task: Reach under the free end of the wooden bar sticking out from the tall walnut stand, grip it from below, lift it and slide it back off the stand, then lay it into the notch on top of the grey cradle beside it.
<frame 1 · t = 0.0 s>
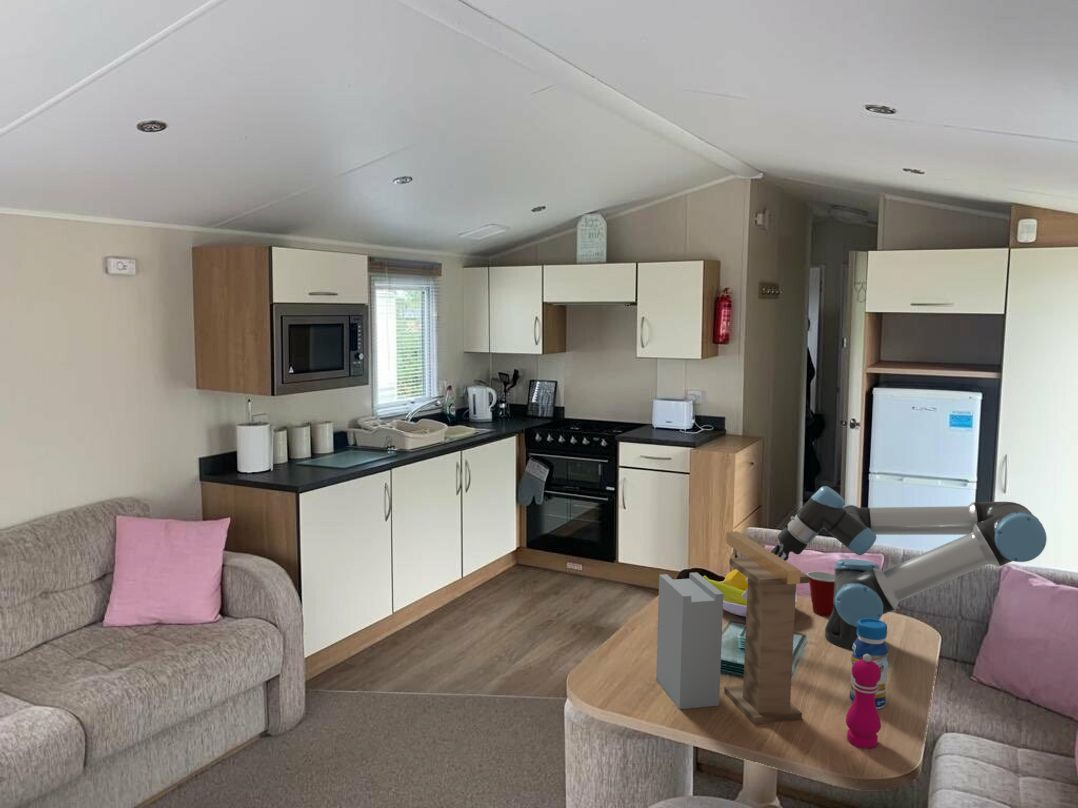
hand: (747, 591, 242), 15 cm above the table, tool tilted 35°, fingers open, 13 cm apart
plastic cup: (823, 612, 269), on the table
fruit bowl: (748, 611, 270), on the table
wooden bar: (760, 561, 207), point 34 cm above the table, touching walnut stand
walnut stand: (761, 705, 208), on the table
pepper mill: (862, 742, 191), on the table
grey cradle: (686, 692, 214), on the table
beverage bottle: (867, 703, 210), on the table
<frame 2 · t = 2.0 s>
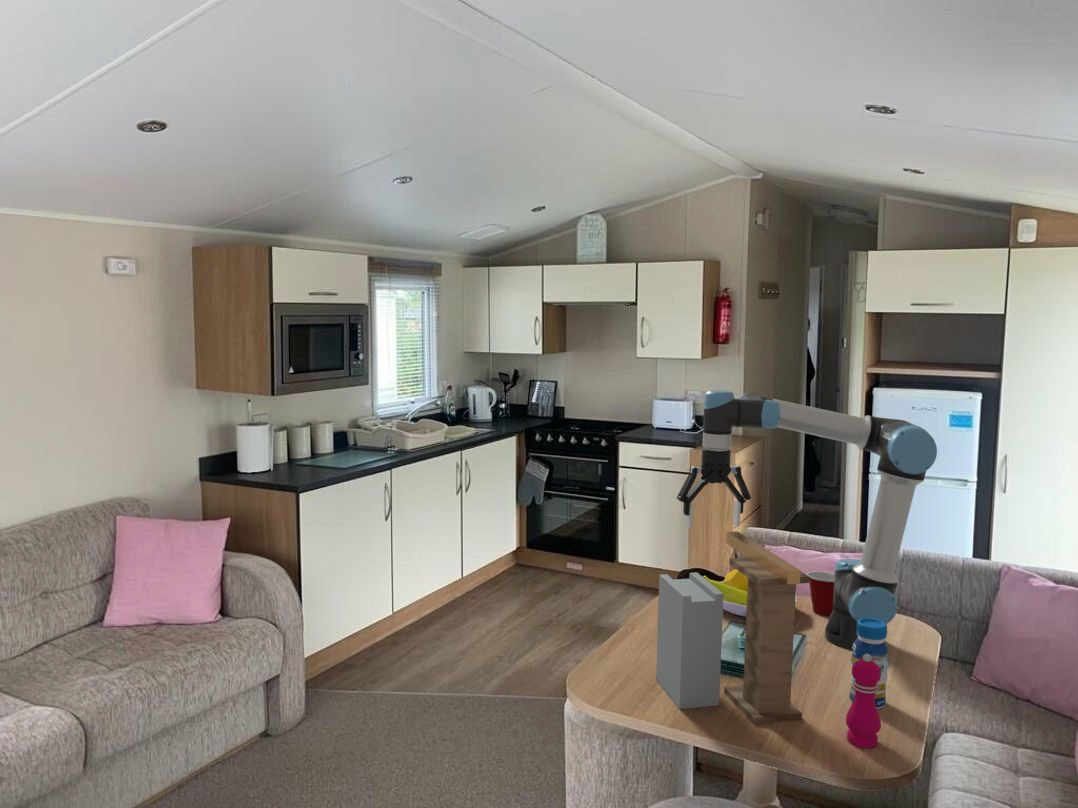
hand: (712, 526, 235), 35 cm above the table, tool pointing down, fingers open, 13 cm apart
nothing on the table moved.
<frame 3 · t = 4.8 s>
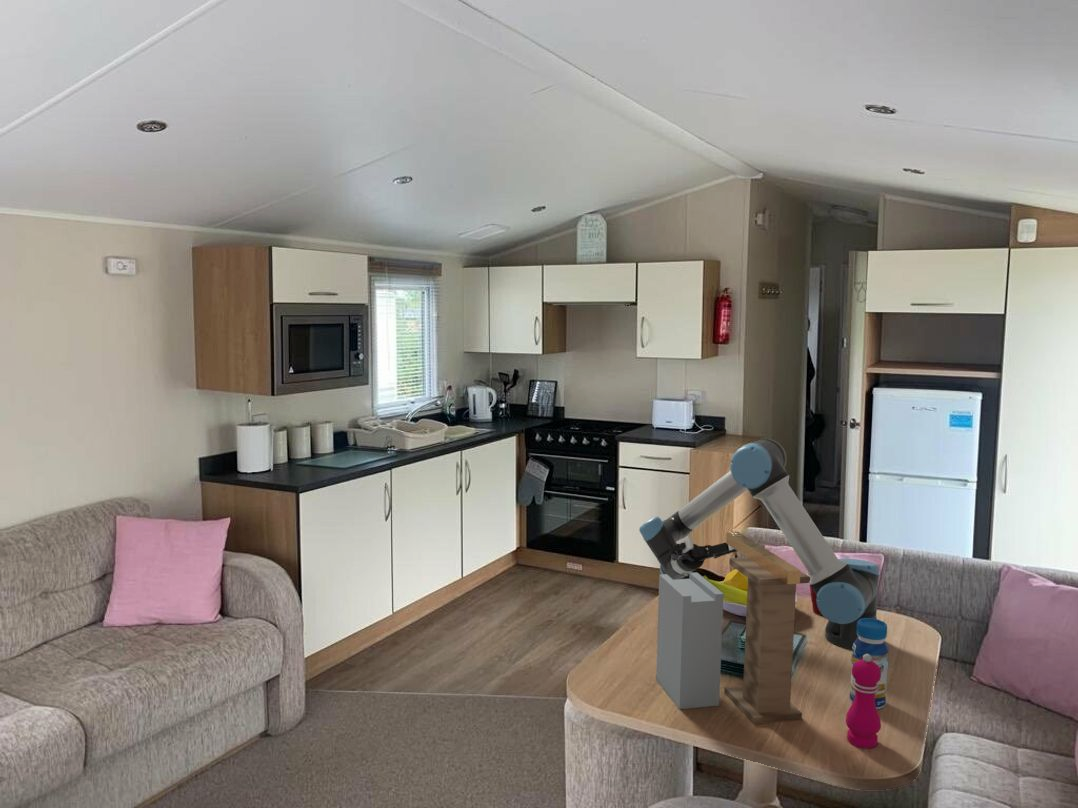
hand: (715, 540, 233), 32 cm above the table, tool pointing upward, fingers open, 13 cm apart
nothing on the table moved.
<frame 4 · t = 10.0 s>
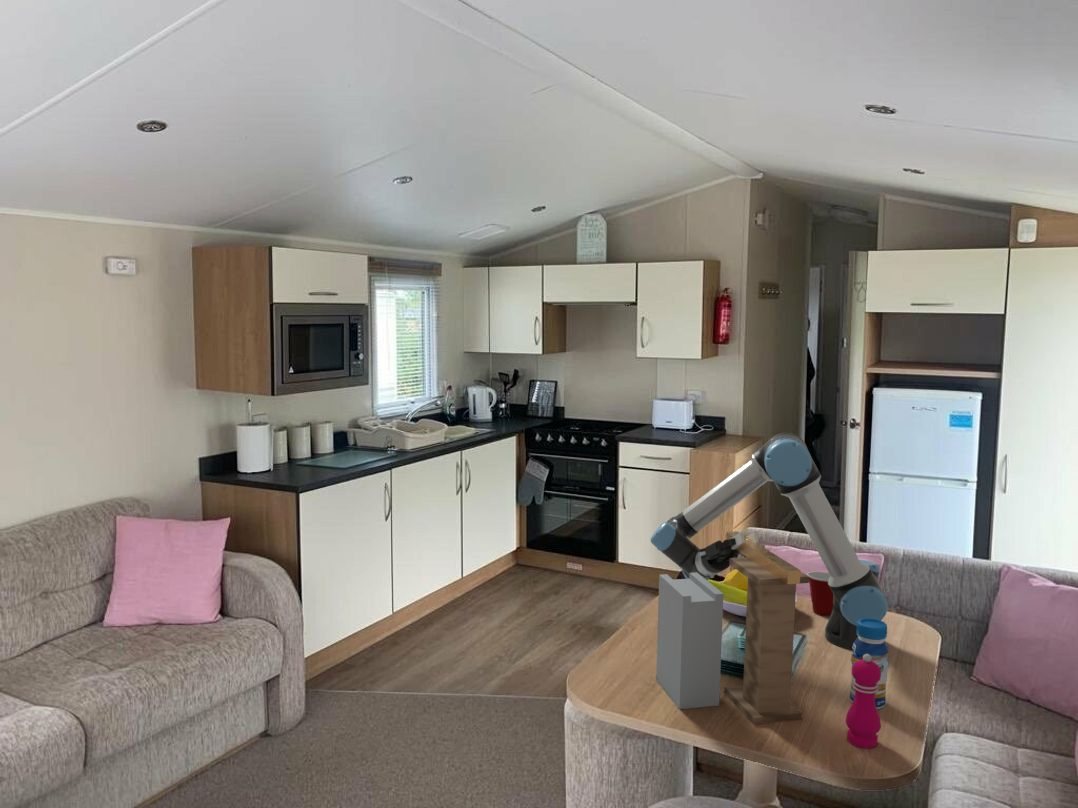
hand: (749, 537, 213), 38 cm above the table, tool pointing upward, fingers closed on wooden bar, 3 cm apart
wooden bar: (760, 561, 207), point 34 cm above the table, touching gripper, walnut stand
everything else where it was.
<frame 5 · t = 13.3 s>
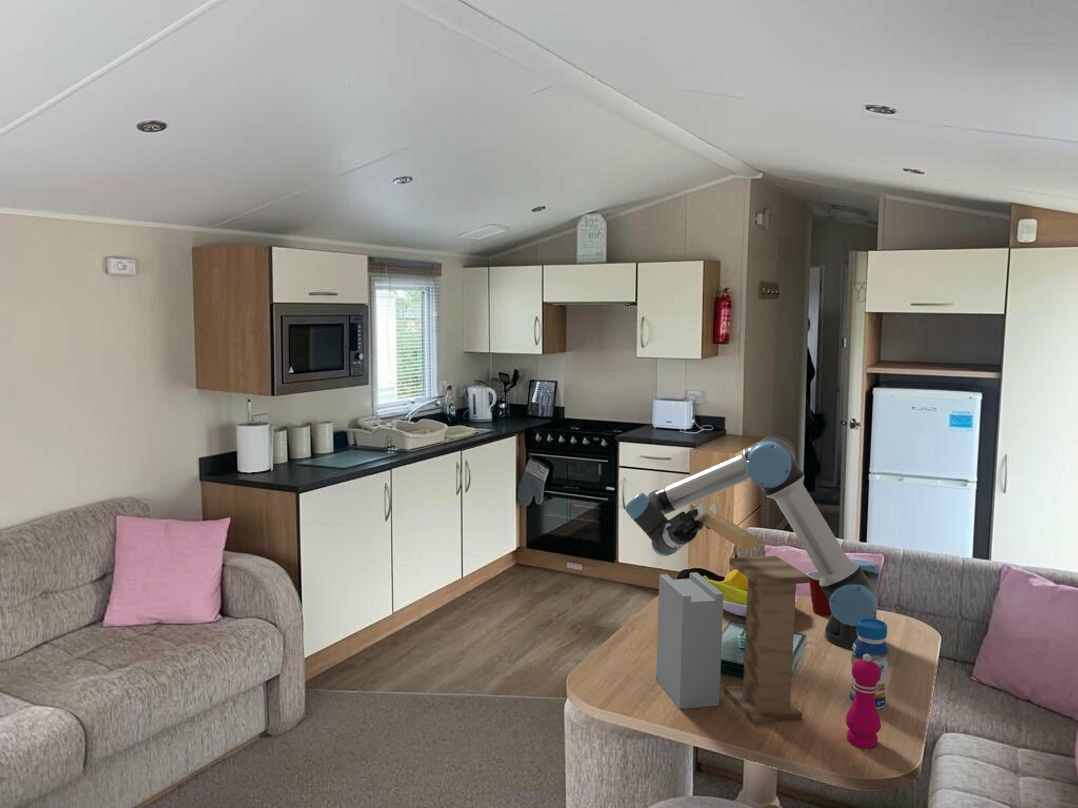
hand: (710, 508, 221), 43 cm above the table, tool pointing upward, fingers closed on wooden bar, 3 cm apart
wooden bar: (719, 530, 216), point 39 cm above the table, touching gripper
everything else where it was.
when the fingers open (33 cm above the table, at t = 16.8 s): wooden bar drops 3 cm, resting on grey cradle.
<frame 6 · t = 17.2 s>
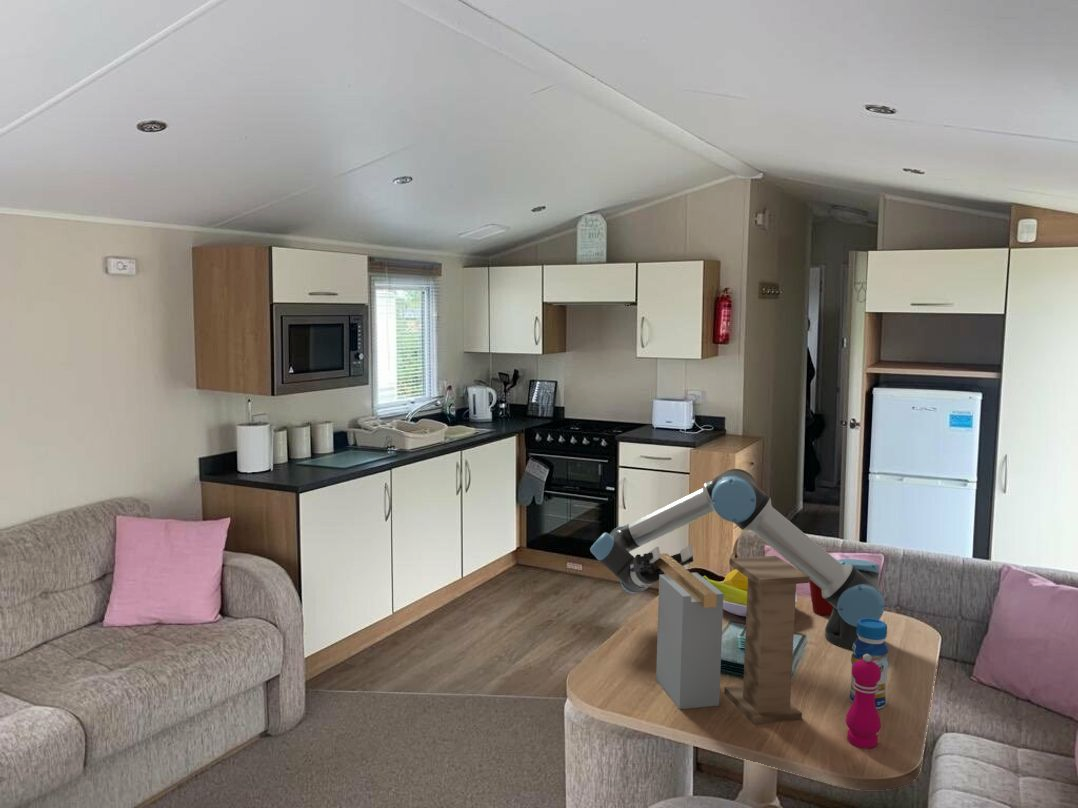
hand: (674, 551, 221), 32 cm above the table, tool pointing upward, fingers open, 8 cm apart
wooden bar: (683, 584, 215), point 26 cm above the table, touching grey cradle
everything else where it was.
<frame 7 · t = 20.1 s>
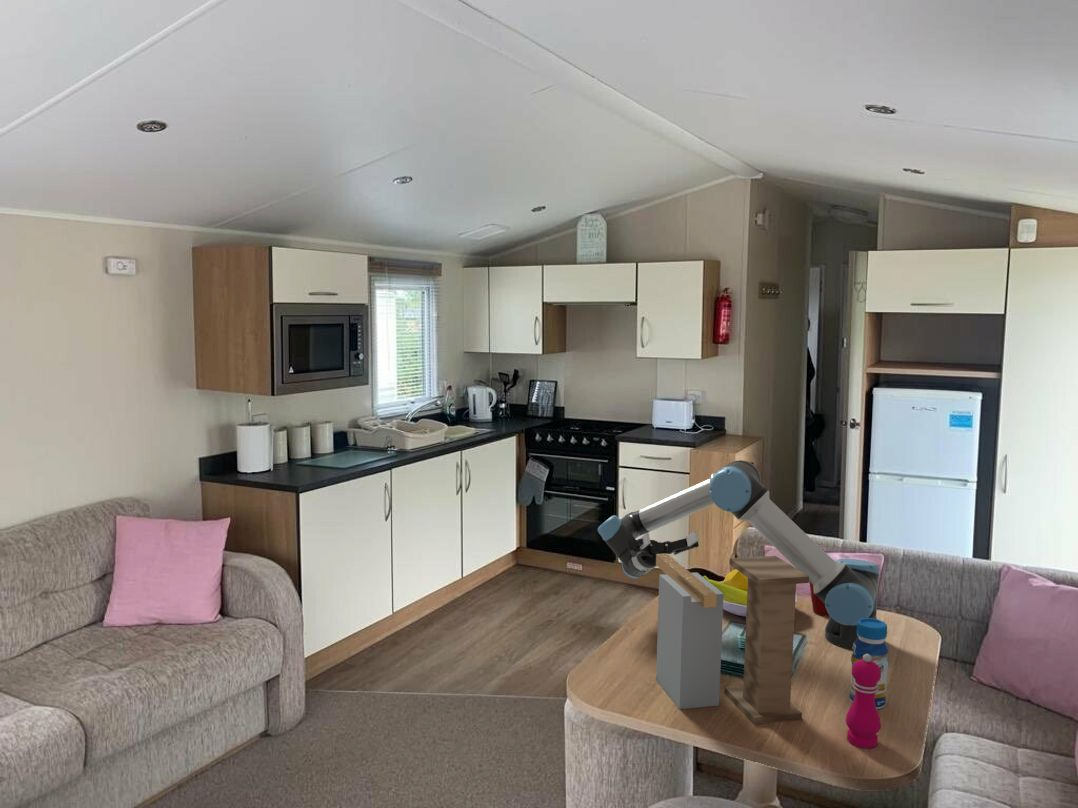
hand: (672, 536, 231), 33 cm above the table, tool pointing upward, fingers open, 13 cm apart
nothing on the table moved.
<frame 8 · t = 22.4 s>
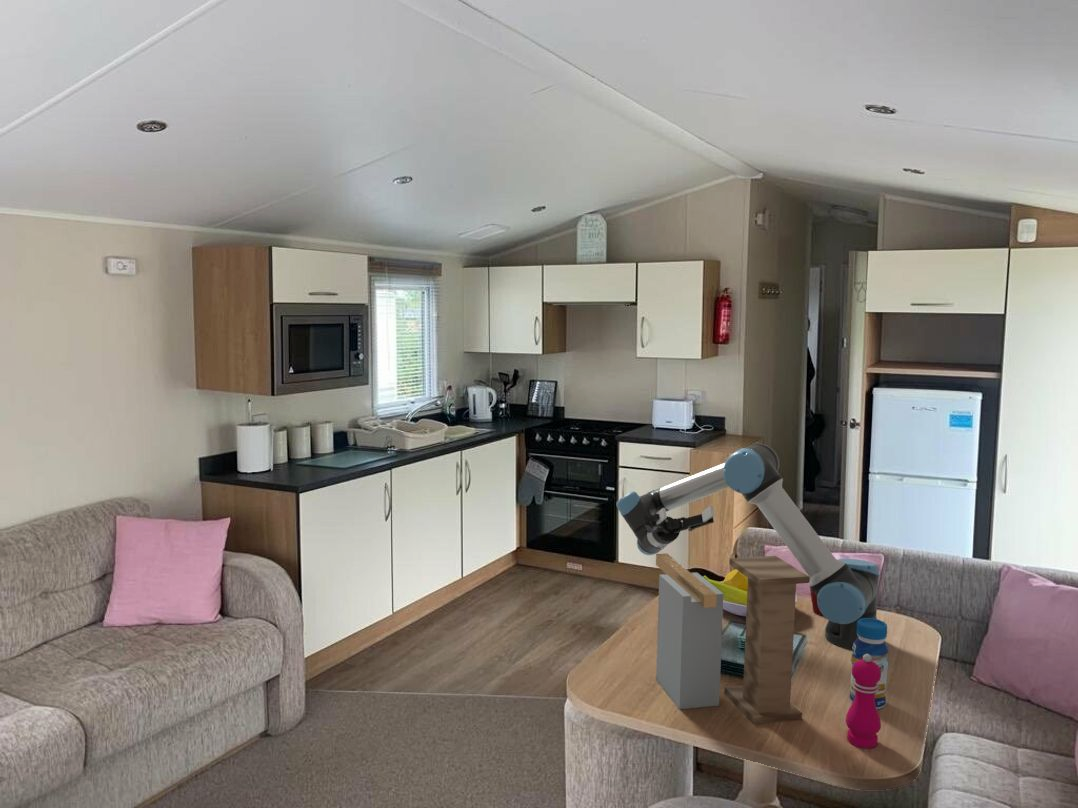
hand: (688, 511, 235), 39 cm above the table, tool pointing upward, fingers open, 13 cm apart
nothing on the table moved.
at the end: wooden bar inside the target area on the grey cradle (0.1 cm from its centre), point 26.0 cm above the grey cradle's base; wooden bar touching grey cradle; the gripper is holding nothing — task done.
